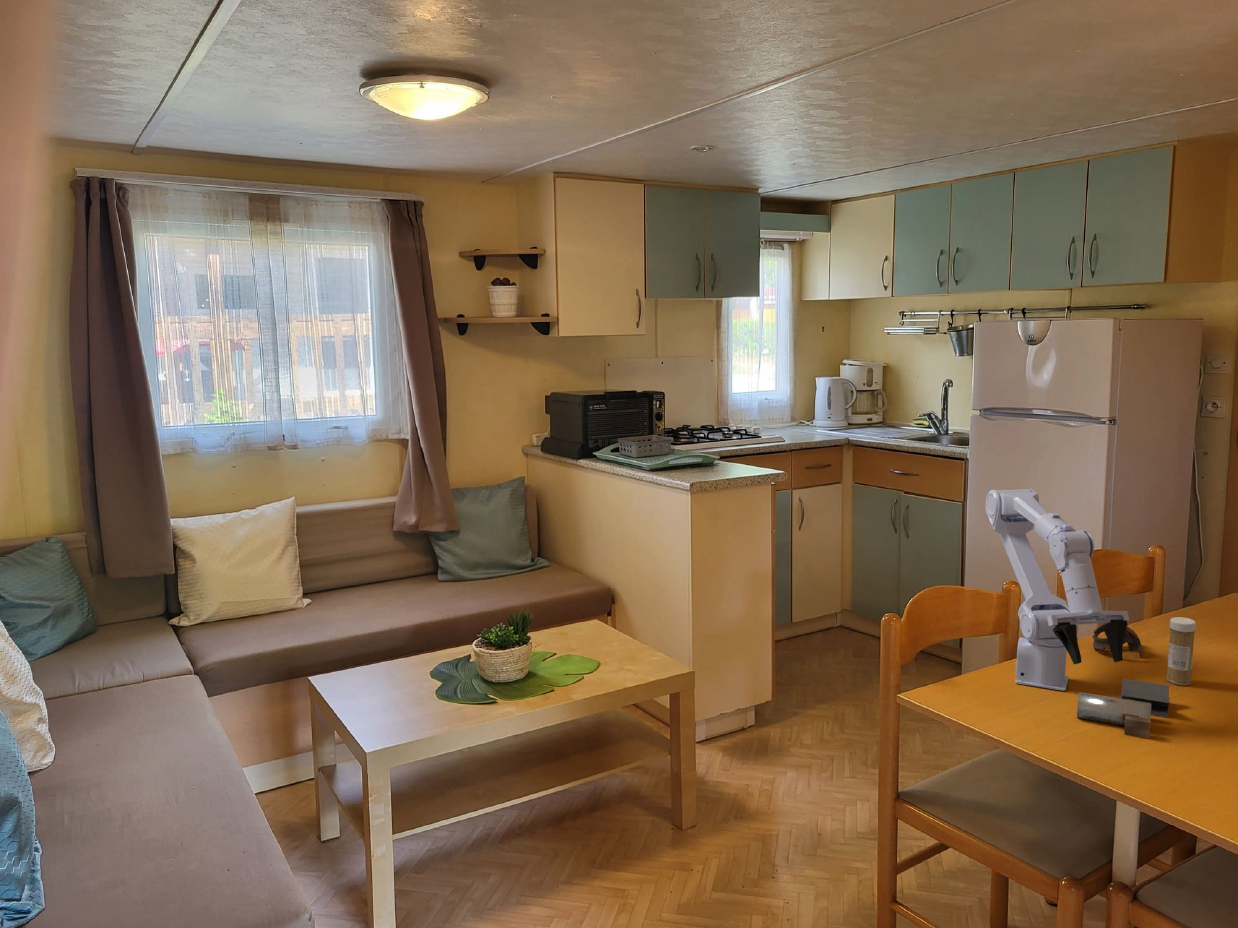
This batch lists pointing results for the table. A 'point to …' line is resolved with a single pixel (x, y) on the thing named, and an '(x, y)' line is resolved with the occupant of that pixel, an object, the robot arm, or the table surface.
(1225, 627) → the table surface
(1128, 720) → the blocks
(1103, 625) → the dark looped band
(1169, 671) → the sprinkles bottle
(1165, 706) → the v block
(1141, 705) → the axle
